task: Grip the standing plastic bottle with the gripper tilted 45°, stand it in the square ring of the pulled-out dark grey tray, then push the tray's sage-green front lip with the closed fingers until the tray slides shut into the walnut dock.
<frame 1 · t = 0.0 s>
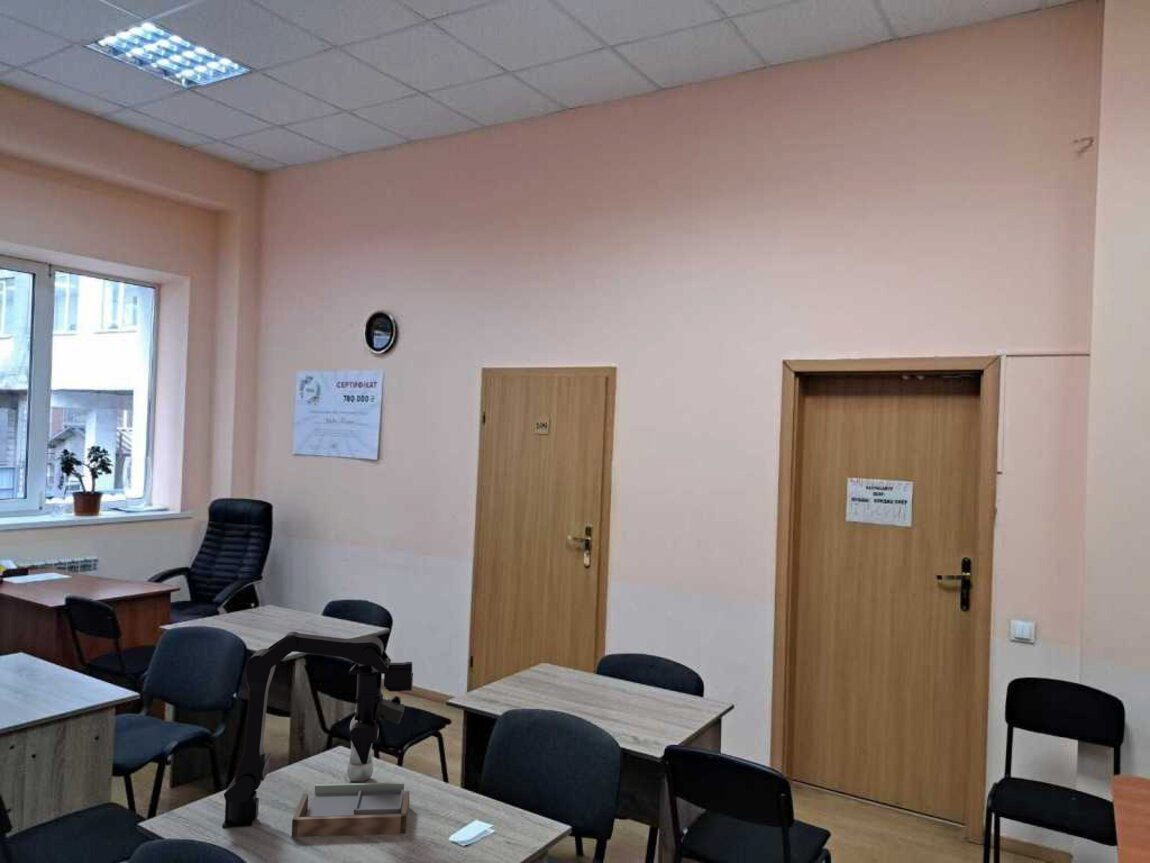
hand: (366, 756, 192), 15 cm above the table, tool pointing down, fingers open, 9 cm apart
dock: (353, 819, 191), on the table
tray: (356, 800, 197), point 2 cm above the table, slide at 6.0 cm
plastic bottle: (359, 780, 212), on the table
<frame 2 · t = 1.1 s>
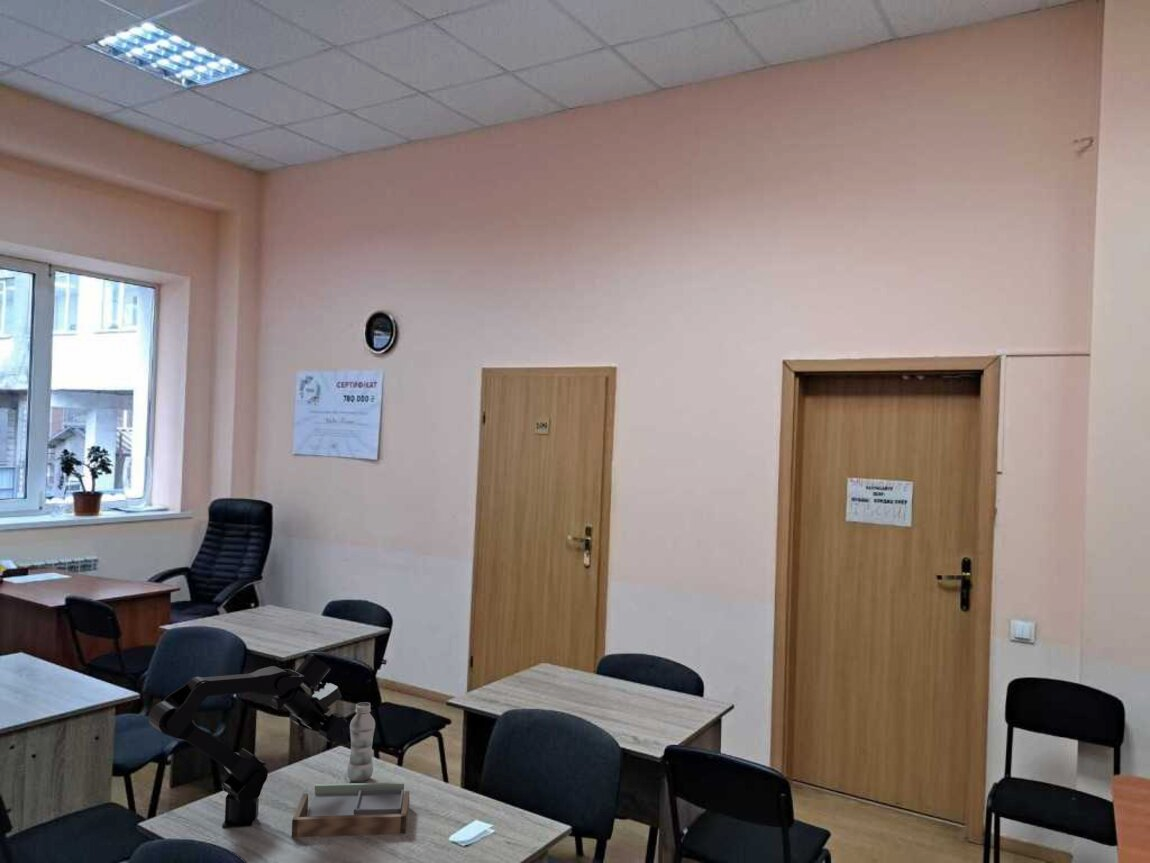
hand: (337, 737, 207), 13 cm above the table, tool tilted 45°, fingers open, 9 cm apart
nothing on the table moved.
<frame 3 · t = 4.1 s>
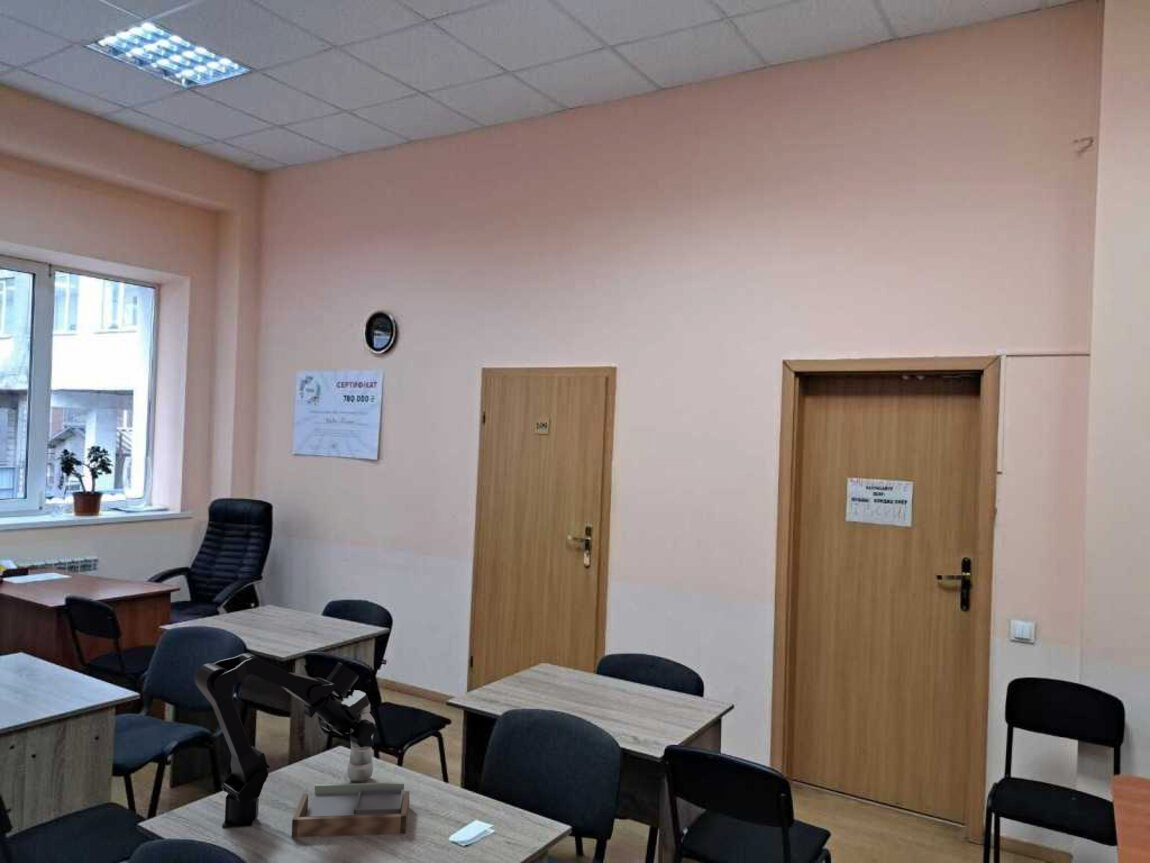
hand: (366, 742, 214), 10 cm above the table, tool tilted 45°, fingers closed on plastic bottle, 6 cm apart
plastic bottle: (359, 780, 212), on the table, touching gripper
everything else where it was.
when the fingers open (11 cm above the table, at t = 7.7 s): plastic bottle stays where it is, resting on tray.
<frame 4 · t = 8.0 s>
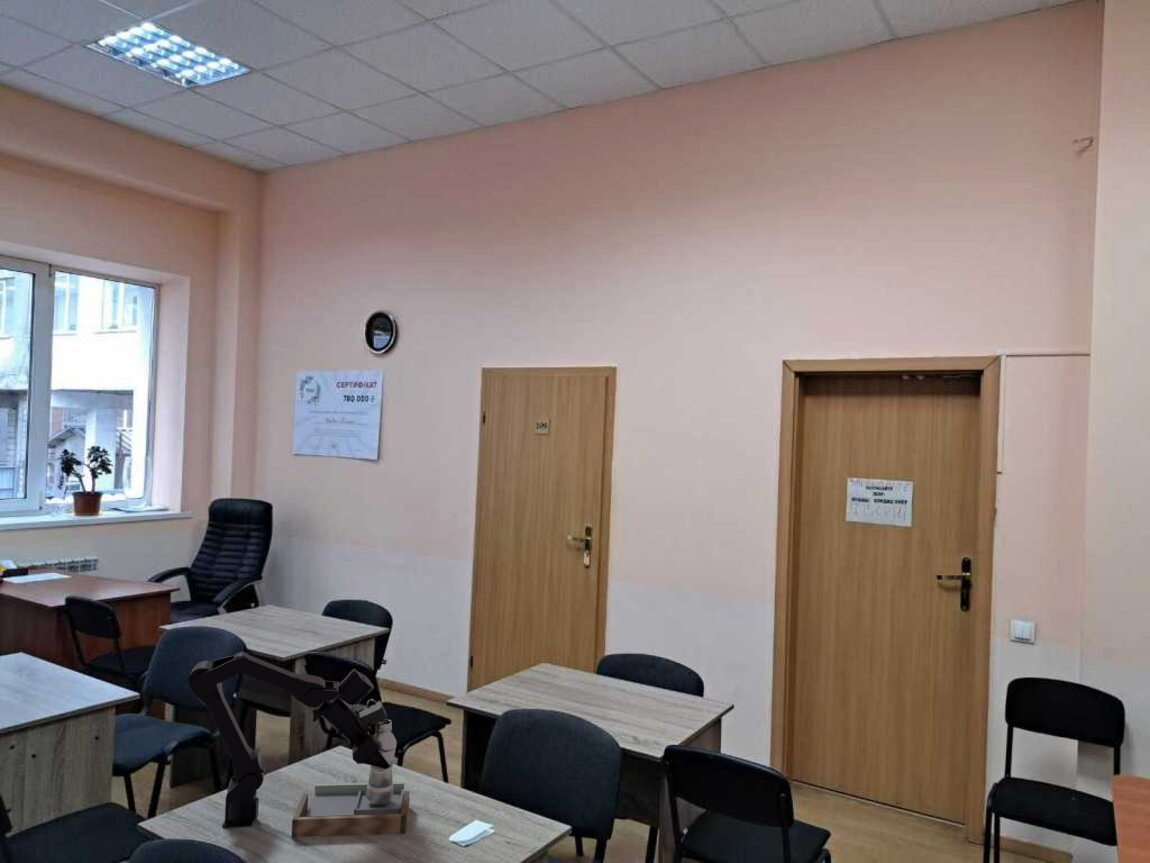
hand: (386, 759, 198), 12 cm above the table, tool tilted 45°, fingers open, 9 cm apart
tray: (356, 800, 197), point 2 cm above the table, slide at 6.1 cm, touching plastic bottle
plastic bottle: (379, 803, 198), point 1 cm above the table, touching tray
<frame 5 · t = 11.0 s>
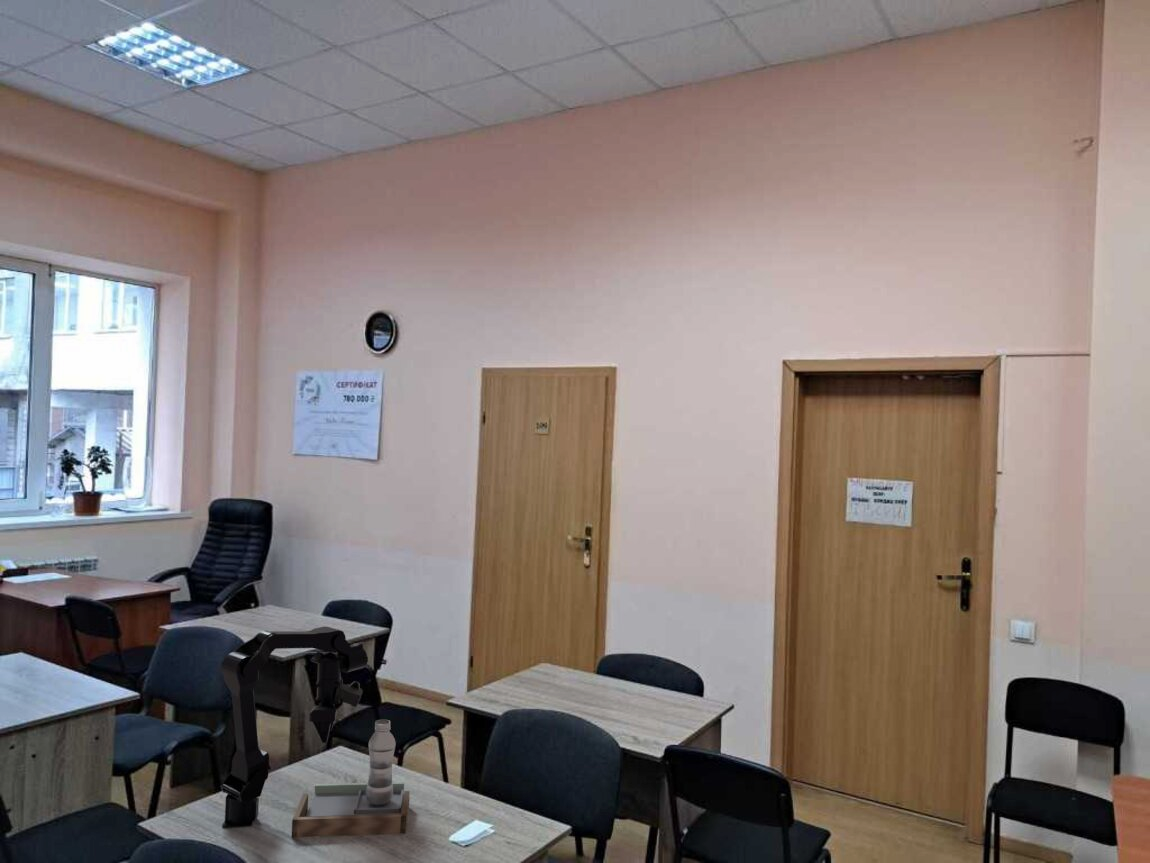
hand: (327, 736, 207), 13 cm above the table, tool pointing down, fingers open, 7 cm apart
nothing on the table moved.
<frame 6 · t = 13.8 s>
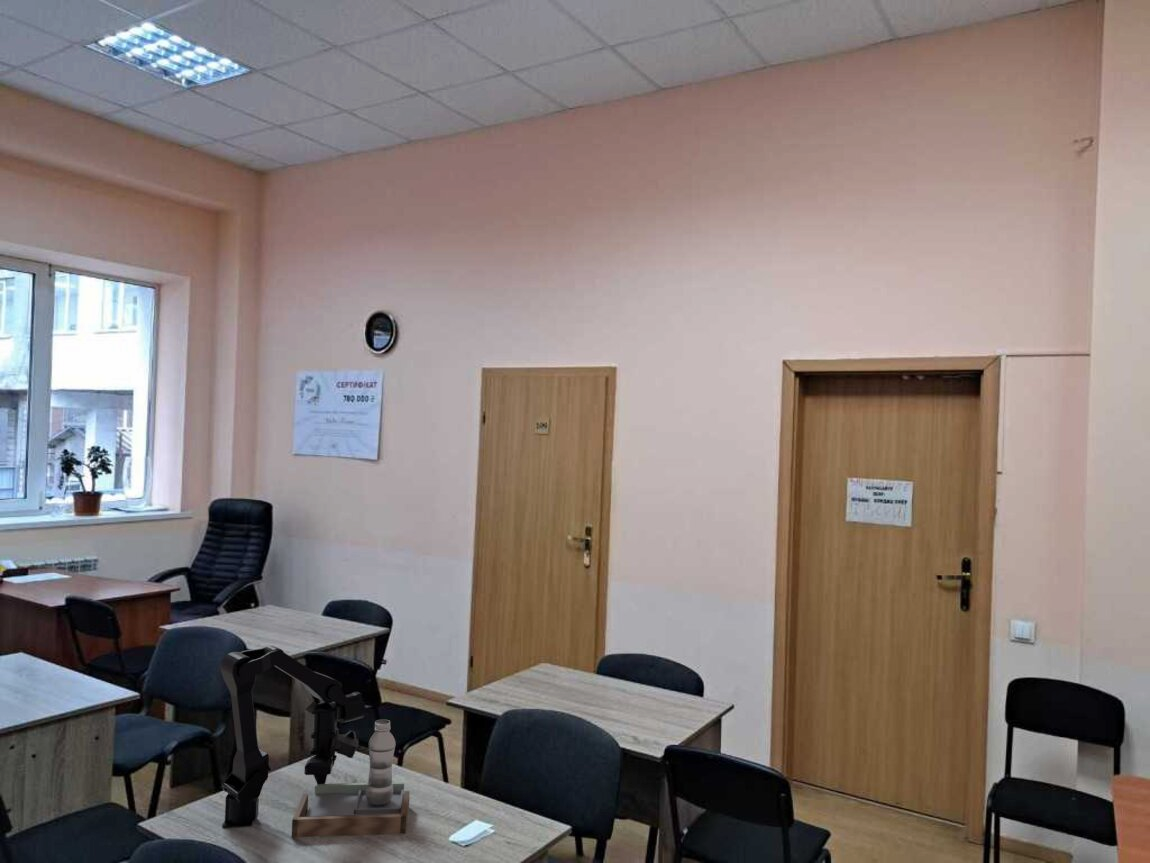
hand: (321, 788, 203), 1 cm above the table, tool pointing down, fingers closed
tray: (356, 800, 197), point 2 cm above the table, slide at 6.1 cm, touching gripper, plastic bottle
everything else where it was.
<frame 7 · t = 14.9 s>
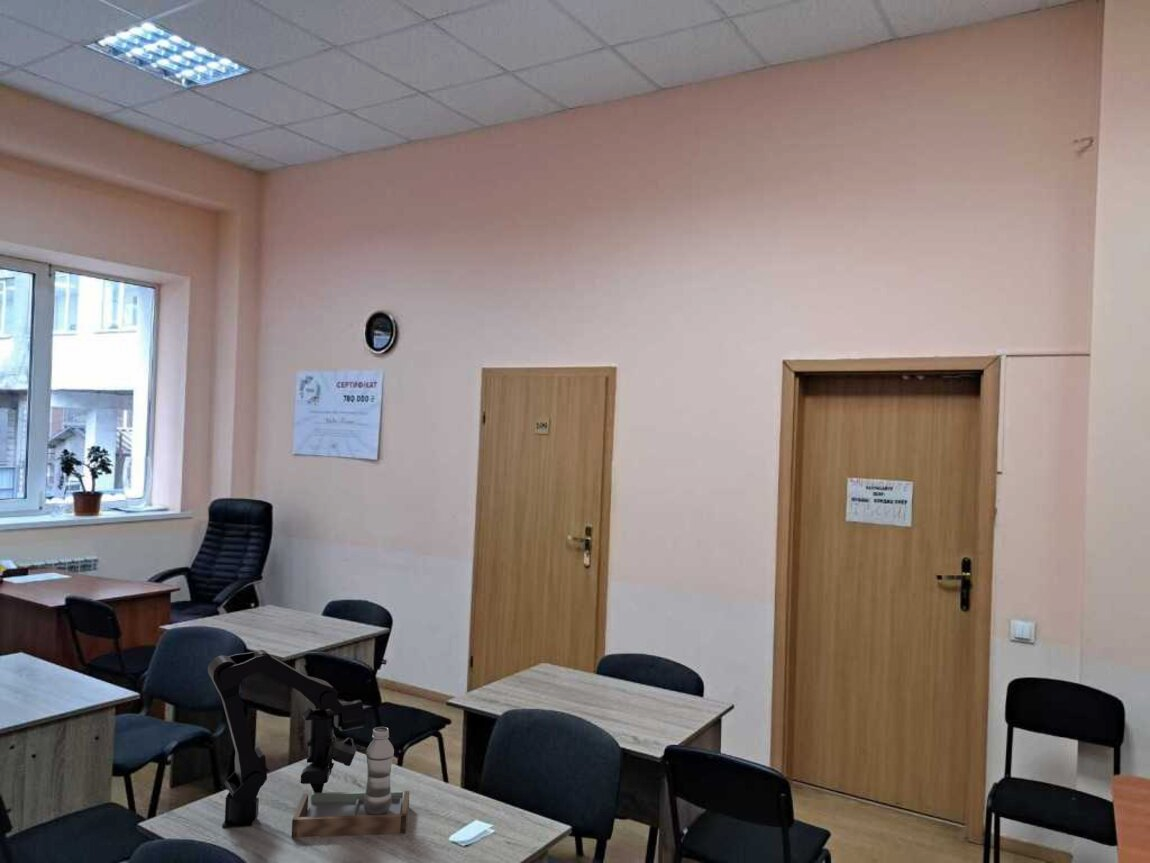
hand: (318, 796, 199), 1 cm above the table, tool pointing down, fingers closed
tray: (354, 809, 192), point 2 cm above the table, slide at 1.1 cm, touching gripper, plastic bottle
plastic bottle: (377, 813, 193), point 1 cm above the table, touching tray
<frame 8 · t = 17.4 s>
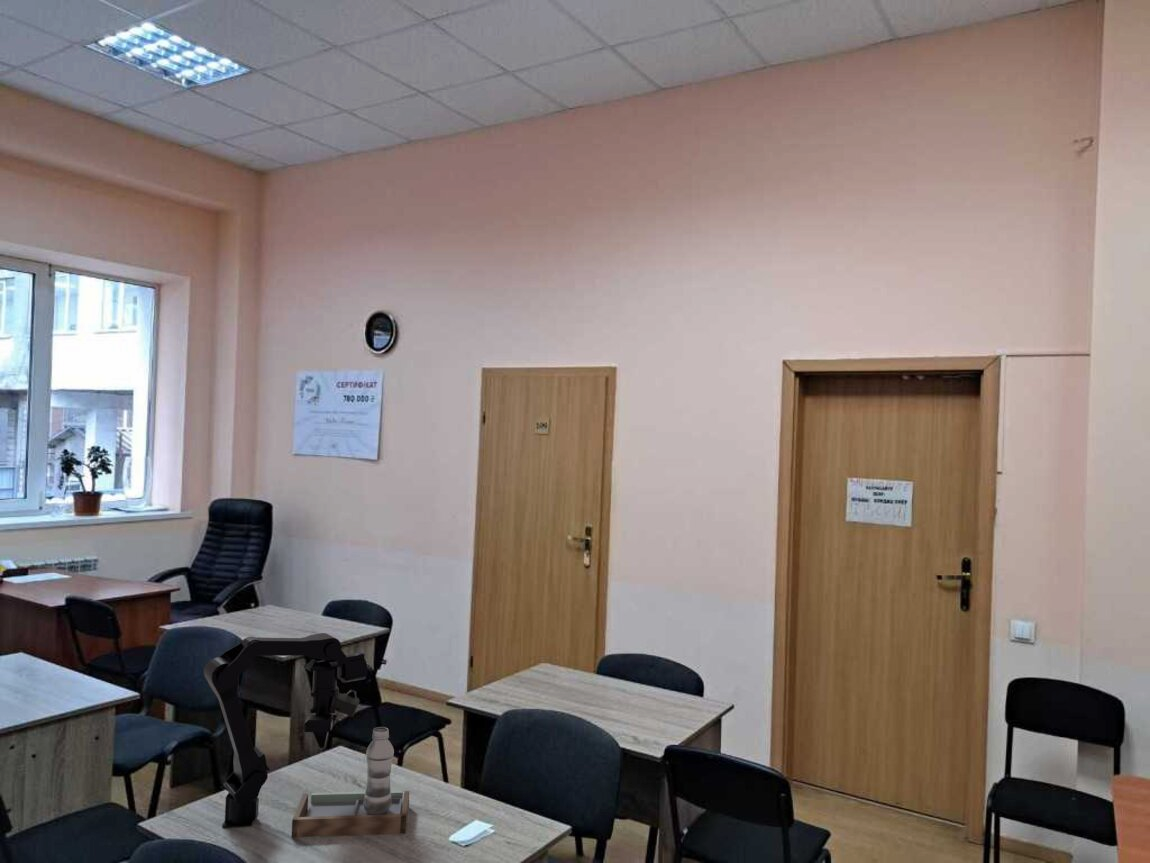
hand: (322, 747, 200), 13 cm above the table, tool pointing down, fingers closed
tray: (354, 809, 192), point 2 cm above the table, slide at 0.9 cm, touching plastic bottle
everything else where it was.
at the end: tray slide at 0.9 cm; plastic bottle inside the target area on the dock (1.0 cm from its centre), point 0.8 cm above the dock's base; plastic bottle tilted 0° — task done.
